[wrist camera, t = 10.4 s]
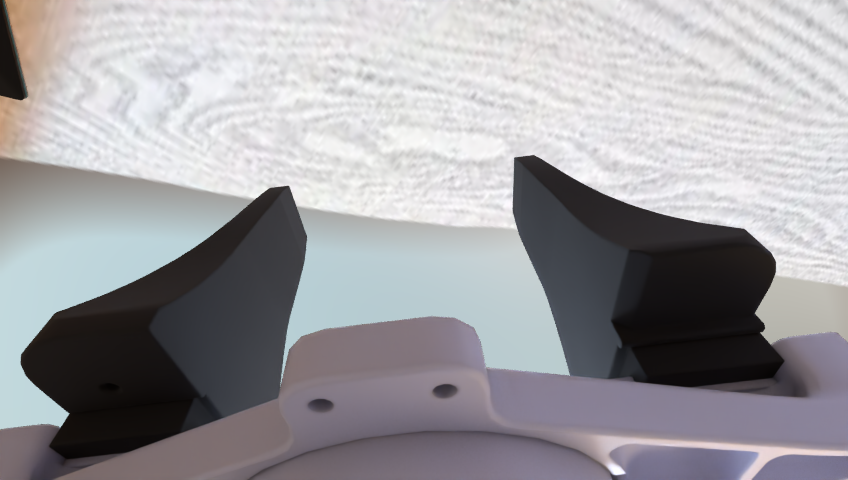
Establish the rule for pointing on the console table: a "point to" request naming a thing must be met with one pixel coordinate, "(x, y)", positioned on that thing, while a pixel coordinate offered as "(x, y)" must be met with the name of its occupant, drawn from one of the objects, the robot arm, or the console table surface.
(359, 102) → the console table surface
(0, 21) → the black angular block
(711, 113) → the console table surface
